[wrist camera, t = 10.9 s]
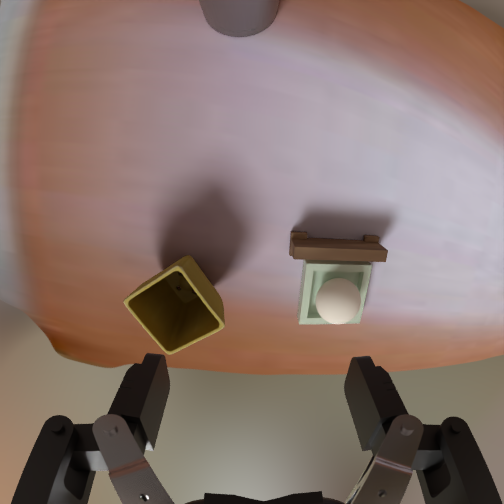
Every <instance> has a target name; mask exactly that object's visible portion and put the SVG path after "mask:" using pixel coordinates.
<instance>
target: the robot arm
mask: <svg viewBox="0 0 504 504" xmlns="http://www.w3.org/2000/svg"><path fill="white" fill-rule="evenodd" d="M199 2H200V5H201V8H202V10H203V13H204V16H205V18H206V20H207V22H208V24H209V25H210V26H211V27H212V28H213V29H215V30H216V31H217V32H220V33H222V34H224V35H228V36H234V37H246V36H251V35H255V34H257V33H259V32H262V31H263V30H265V29H266V28H268V27H269V26H270V25H271V24H272V22H273V21H274V19H275V17H276V13H277V9H278V4H279V0H199ZM169 390H170V380H169V374H168V370H167V364H166V359H165V356H164V355H161V354H151V353H147V354H146V355H145V357H144V360H143V362H142V364H137V363H135V364H134V365H133V366H132V367H130V368H129V369H128V371H127V372H126V374H125V376H124V378H123V381H122V383H121V385H120V388H119V389H118V392H117V394H116V396H115V398H114V401H113V403H112V405H111V407H110V410H109V412H108V414H107V415H103V416H101V417H99V418H98V419H97V420H96V421H95V422H94V423H93V424H73V423H72V421H71V420H70V419H69V418H67V417H66V416H62V415H57V416H53V417H51V418H49V419H48V420H47V421H46V422H45V424H44V425H43V427H42V429H41V432H40V434H39V436H38V438H37V440H36V442H35V445H34V447H33V449H32V451H31V454H30V456H29V458H28V461H27V463H26V466H25V468H24V470H23V473H22V475H21V478H20V480H19V483H18V486H17V488H16V491H15V494H14V496H13V499H12V502H11V504H87V503H88V499H89V495H90V492H91V488H92V484H93V480H94V477H95V473H96V471H106V470H107V471H108V470H109V477H110V479H111V482H112V484H113V486H114V488H115V490H116V492H117V494H118V496H119V498H120V500H121V502H122V504H174V502H173V501H172V499H171V498H170V496H169V495H168V493H167V492H166V490H165V489H164V487H163V486H162V484H161V483H160V481H159V480H158V478H157V476H156V475H155V473H154V472H153V470H152V468H151V467H150V465H149V463H148V462H147V460H146V459H145V457H144V452H145V450H151V451H153V450H154V447H155V442H156V439H157V435H158V431H159V428H160V424H161V420H162V417H163V413H164V409H165V406H166V402H167V398H168V394H169ZM344 391H345V395H346V399H347V402H348V405H349V409H350V412H351V415H352V418H353V421H354V424H355V428H356V431H357V434H358V438H359V440H360V444H361V447H362V451H366V450H372V453H373V455H372V457H371V459H370V461H369V463H368V464H367V466H366V468H365V470H364V472H363V474H362V475H361V477H360V479H359V481H358V482H357V484H356V486H355V487H354V489H353V491H352V492H351V494H350V495H349V497H348V498H347V500H346V501H345V503H343V502H340V501H338V500H334V499H331V498H324V497H323V496H322V491H319V492H309V493H298V494H291V495H288V496H284V497H280V498H277V499H272V500H268V501H259V500H254V499H249V498H245V497H241V496H236V495H227V494H211V493H205V494H204V499H200V500H196V501H191V502H188V503H185V504H400V503H401V500H402V498H403V496H404V493H405V491H406V489H407V486H408V484H409V481H410V479H411V476H412V473H413V470H416V473H417V476H418V479H419V482H420V486H421V489H422V493H423V496H424V500H425V503H426V504H502V501H501V499H500V496H499V493H498V491H497V488H496V486H495V483H494V481H493V479H492V476H491V474H490V472H489V469H488V467H487V465H486V462H485V460H484V458H483V456H482V453H481V451H480V449H479V447H478V445H477V443H476V441H475V439H474V437H473V435H472V433H471V431H470V429H469V427H468V425H467V423H466V422H465V421H464V420H463V419H461V418H458V417H449V418H446V419H445V420H444V421H443V422H442V424H441V425H426V424H422V422H421V421H420V420H419V419H418V418H416V417H415V416H412V415H409V414H408V412H407V410H406V408H405V406H404V404H403V402H402V400H401V398H400V396H399V394H398V392H397V390H396V388H395V386H394V384H393V383H392V380H391V378H390V376H389V374H388V372H386V371H385V370H384V369H383V368H382V367H381V366H376V367H375V365H374V363H373V361H372V359H371V357H370V356H362V357H353V358H352V360H351V363H350V366H349V369H348V373H347V376H346V380H345V385H344Z"/></svg>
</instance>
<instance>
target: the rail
mask: <svg viewBox="0 0 504 504" xmlns="http://www.w3.org/2000/svg"><path fill="white" fill-rule="evenodd" d="M378 242H379V237H378V236H373V235H364V237H363V240H346V239H325V238H307V232H294V231H291V237H290V249H289V255H290V256H293V259H305V260H337V261H372V262H386V258H387V253H388V250H386V249H385V248H384V247H383V246H382V245H380V244H379V243H378Z"/></svg>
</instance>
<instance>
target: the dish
mask: <svg viewBox="0 0 504 504" xmlns="http://www.w3.org/2000/svg"><path fill="white" fill-rule="evenodd" d="M371 268H372V265H371V264H370V263H369V262H368V261H337V260H305V259H304V261H303V270H302V279H301V288H300V297H299V305H298V313H297V318H298V322H299V324H332V323H329V322H327V321H326V320H324V319H323V318H322V317H321V316H320V315H319V313H318V311H317V308H316V295H317V292H318V290H319V289H320V287H321V286H322V285H323V284H324V283H325V282H327V281H328V280H331V279H334V278H343V279H347V280H349V281H351V282H352V283H353V284H354V285H355V286H356V287H357V288H358V290H359V292H360V296H361V306H360V309H359V311H358V313H357V314H356V316H355V317H354V318H353V319H352V320H350V321H348V322H346V323H343V324H351V323H360V320H361V315H362V311H363V307H364V302H365V298H366V293H367V288H368V283H369V278H370V273H371Z"/></svg>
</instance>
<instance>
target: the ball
mask: <svg viewBox="0 0 504 504" xmlns="http://www.w3.org/2000/svg"><path fill="white" fill-rule="evenodd" d="M360 306H361V296H360V292H359V290H358V288H357V287H356V286H355V285H354V284H353V283H352V282H351V281H349V280H347V279H343V278H334V279H331V280H328V281H327V282H325V283H324V284H323V285H322V286H321V287H320V289H319V290H318V292H317V295H316V308H317V311H318V313H319V315H320V316H321V317H322V318H323V319H324V320H326V321H327V322H329V323H332V324H343V323H346V322H348V321H350V320H352V319H353V318H354V317H355V316H356V314H357V313H358V311H359V309H360Z"/></svg>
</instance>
